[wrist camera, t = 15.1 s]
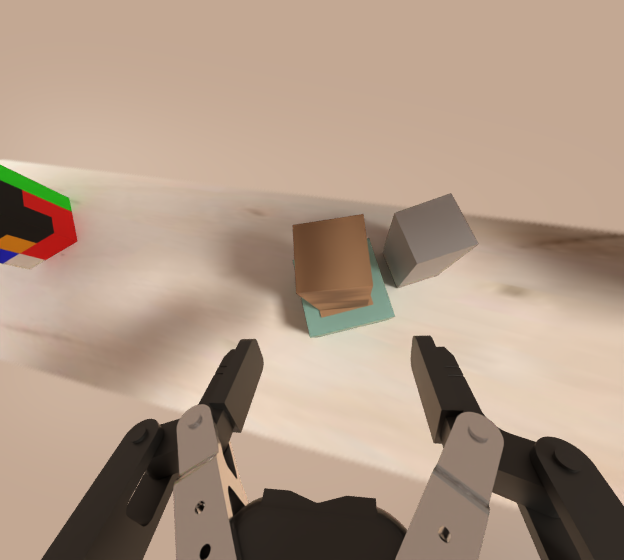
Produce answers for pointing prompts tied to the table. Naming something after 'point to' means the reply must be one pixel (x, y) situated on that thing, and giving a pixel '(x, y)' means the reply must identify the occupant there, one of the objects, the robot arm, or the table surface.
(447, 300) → the table surface
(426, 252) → the slate-grey block
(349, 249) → the walnut block
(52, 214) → the puzzle toy
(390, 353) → the table surface
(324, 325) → the teal base block
